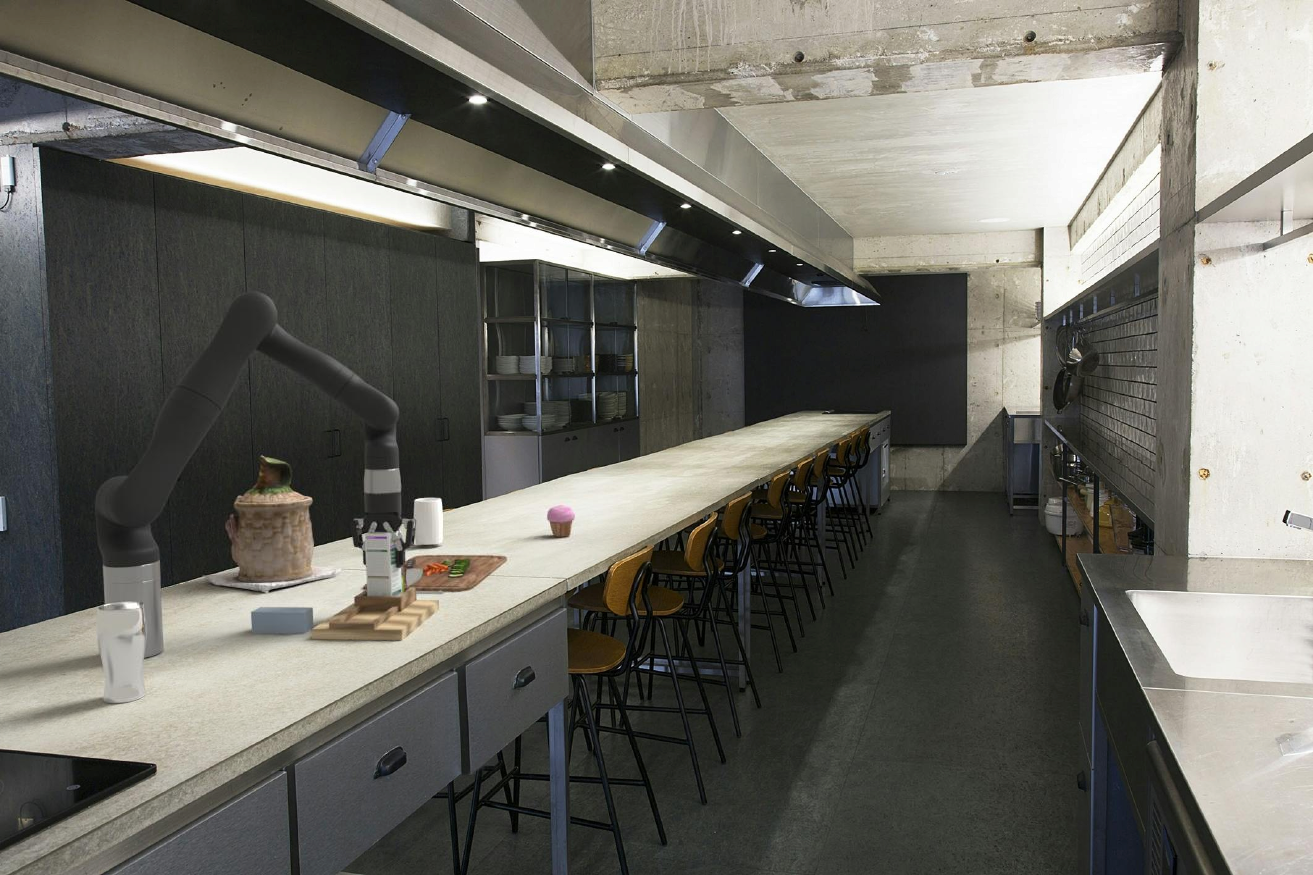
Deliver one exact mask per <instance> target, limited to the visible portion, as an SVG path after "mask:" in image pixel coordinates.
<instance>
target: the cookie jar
mask: <svg viewBox="0 0 1313 875" xmlns="http://www.w3.org/2000/svg"><path fill="white" fill-rule="evenodd" d="M259 461H260V465H259V471H258V472H259V473H258V478H257V483H256V484H255V485H253V487H252V488H250V489H249V490H247V491H246V492H245V493H244V494H243V496H242V495H238V496H237V497H236V498H235V501H234V503H233V508H234V510H235V511H236V514H233V513H232V514H230V515H229V519H228V520H227V521H226V523H225V530H226V531H227V534H228V537H229V539H230V541H231V542H232V545H231V555H232V557H231V558H232V560H233V561H234V562H235V563H236V564H237V566H238V568H239V569H238V570H235V571H229V572H225V573H220V574H209V575H208V574H207V575H202V578H203V579H205V580H207V581H209V582H210V583H212V584H214V586H224V587H230V588H231V587H232V588H237V589H238V588H239V589H244V590H245V589H246V590H252V591H258V592H262V593H264V594H269V593H270V592H269V591H271V590H273V589H279V588H284V587H291V586H294V585H298V584H304V583H307V582H312V581H317V580H323V579H332V578H336V577H339V576H340V574H341V571H342V568H339V567H338V568H337V567H322V566H312V558H313V555H314V547H315V546H314V545H315V542H314V538H313V529H312V522H311V518H310V511H309V510H310V509H309V508H310V506H311V505H312V504H313V498H312V497H311V496H308V495H307V496H305V495H303V494H301V493H299V492H296V491H294V490H293V489H292V488H291V487H290V485H291V482H292V478H293V474H292V472H293V471H292V470H293V469H292V467H291V465H290V464H289V463H287V462H286V461H282V460H280V459H276V458H271V457H266V456H263V455H260V457H259Z"/></svg>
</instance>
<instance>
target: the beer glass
mask: <svg viewBox="0 0 1313 875" xmlns="http://www.w3.org/2000/svg"><path fill="white" fill-rule="evenodd" d="M96 613H97V614H96V615H97V616H96V639H97V640H96V642H97V647H98V652H99V656H100V661H101V664H102V667H103V668H102V669H103V671H104V679H105V680H104V691H103V697H102V701H103V702H104V703H107V704H125V703H129V702H130V703H131V702H134V701H138V700H140V699H142V698H145V696H146V694H147V689H146V686H145V680H144V674H143V666H144V659H145V658H144V654H145V647H146V637H147V630H146V617H145V610H144V603H143V602H140V601H123V602H115V603H109V604H105V603H104V604H103V605H100V606H98V607H97V612H96Z"/></svg>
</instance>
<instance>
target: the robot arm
mask: <svg viewBox="0 0 1313 875" xmlns="http://www.w3.org/2000/svg"><path fill="white" fill-rule="evenodd" d="M277 321H278V311H277V306H276V304H275V302H274V301H273V299H271V297H269V296H268V295H267V294H265V293H262V292H260V291H248V292H244V293H241V294H239V295H238V296H236V297H234V299H233V300H231V302H230V303H229V305H228V307H227V310H226V312H225V315H224V317H223V319H222V320H221V323H220V325H219V327H218V329H217V331H216V332H215V334H214V336H213V337H212V340H211V341H210V342H209V344H208V345H207V346H206V348H205V349H204V350H203V351H202V352H201V354H199V356H198V357H197V358H196V359H195V360H194V362H192V364H191V365H190V366H189V368H188V369H187V370H186V372H185V373H184V375H183V376H182V377H181V378H180V380H179V381H178V382H177V384H176V385H175V386H174V388H173V389H172V391H171V393H170V394H169V395H168V397H167V398H166V400H165V402H164V403H163V405H162V406H161V409H160V410H159V414H158V416H157V419H156V422H155V426H154V430H153V433H152V437H151V440H150V443H149V445H148V447H147V449H146V451H145V452H144V454H143V455H142V457H141V459H140V460H139V461H138V462H137V464H136V465H135V467H134V468H133V469H132V471H131V472H130V473H129V474H128V475H117V476H114V477H111V478H109V479H107V480H105V481H104V482H103V483H102V485H101V486H100V487H99V489H98V491H97V492H96V496H95V502H94V513H95V525H96V536H97V545H98V548H99V551H100V554H101V557H102V572H103V573H102V574H103V591H104V605H105V604H109V603H115V602H123V601H140V602H143V603H144V610H145V617H146V630H147V637H146V647H145V654H144V659H146V658H151V657H153V656H156V655H158V654H161V653H163V652H164V649H165V648H164V627H163V605H162V588H161V587H162V586H161V585H162V584H161V583H162V582H161V562H160V548H159V546H158V543H157V542H156V541H155V538H154V536H153V533H152V529H151V523H152V522H154V521H155V520H156V519H158V517H159V515H160V514H161V513H162V511H163V509H164V508H165V506H166V504H167V502H168V499H169V498H170V495H171V494H172V491H173V489H174V487H175V485H176V484H177V481H178V480H179V477H180V475H181V474H182V471H183V470H184V468H185V466H186V465H187V464H188V462H189V460H190V459H191V458H192V456H193V455H194V454H195V452H196V450H197V449H198V447H199V446H200V444H201V443H202V441H203V440H204V438H205V436H206V435H207V433H208V432H209V431H210V429H212V426H213V425H214V424H215V422H216V420H217V418H218V417H219V415H220V414H221V412H222V411H223V410H224V407H225V406H226V404H227V402H228V401H229V400H228V399H229V398H230V397H231V395H232V392H233V390H234V389H235V386H236V384H237V382H238V379H239V377H240V376H241V373H242V370H243V369H244V367H245V364H246V363H247V362H248V360H249V358H250V357H251V356H252V354H253V353H254V352H255V351H257V352H258V353H261V354H262V355H264V356H266V357H269V358H270V359H272V360H274V361H276V362H277V363H279V364H280V365H282V366H284V367H286V368H287V369H289V370H290V371H292V372H293V373H295V374H296V375H298V376H299V377H301V378H302V379H304V380H305V381H307V382H308V383H309V384H311V385H313V387H315V388H316V389H318V390H319V391H320V392H322V393H323V394H325V395H326V396H328V397H329V398H330V399H331V400H333V401H335V402H337V403H338V404H339V405H341V406H344V407H346V408H347V409H349V411H350V412H352V413H354V415H356V416H357V417H359V418H360V419H361V421H362V424H363V435H364V436H363V437H364V477H363V489H364V490H363V494H364V496H363V497H364V516H363V518H354V519H352V520H350V524H349V525H350V529H351V537H352V543H353V547H355V548H358V549H360V550H362V563H363V565H364V566H366V551H365V540H364V538H363V532H362V528H363V526H365V527H366V529H367V530H368V532H367V533H374V532H388V533H392V535H393V536H392V541H393V542H394V544H395V546H396V548H397V551H396V567H397V568H401V567H403V565H404V564H405V562H406V561H407V560H406V549H409V548H411V547H413V546H414V545H415V531H416V520H415V519H414V518H411V519H409V518H404V517H403V515H402V483H401V473H400V456H399V455H400V454H399V453H400V452H399V446H398V442H397V422H398V420H399V418H400V409H399V407H398V405H397V404H396V402H395V401H394V400H393V399H391V398H390V397H388V395H386V394H384V393H383V392H381V391H379V389H376V388H375V387H373V386H372V385H370V384H369V383H367V382H365V381H364V380H363V379H362V378H361V377H360V376H359V375H357V373H354V372H353V371H352V370H351V369H349V368H348V367H346V366H345V365H344V364H342V363H341V362H340V361H338V360H337V359H335V358H334V357H332V356H330V355H328V354H326V353H324V352H322V351H320V350H318V349H316V348H313V347H311V346H309V345H307V344H305V343H303V342H302V341H300V340H298V339H297V338H295V337H294V336H293V335H291V334H289V333H288V332H287V331H286V330H284V328H283V327H281V326H280V325H279V323H277ZM402 525H403V527H404V529H405V530H406V531H405V539H403V535H402V531H401V532H400V531H399V530H400V528H401V526H402ZM397 531H398V533H399V534H398V536H397V535H396V534H395V533H396V532H397Z"/></svg>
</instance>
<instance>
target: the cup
mask: <svg viewBox="0 0 1313 875" xmlns="http://www.w3.org/2000/svg"><path fill="white" fill-rule="evenodd" d="M413 502H414V504H413V506H414V507H413V519H415V520H416V531H415V540H414V542H415V544H417V545H437V544H441V543H443V534H444V521H443V520H444V517H443V516H444V515H443V514H444V513H443V502H442V498H440V497H424V498H422V497H421V498H417V499H414V500H413Z"/></svg>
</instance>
